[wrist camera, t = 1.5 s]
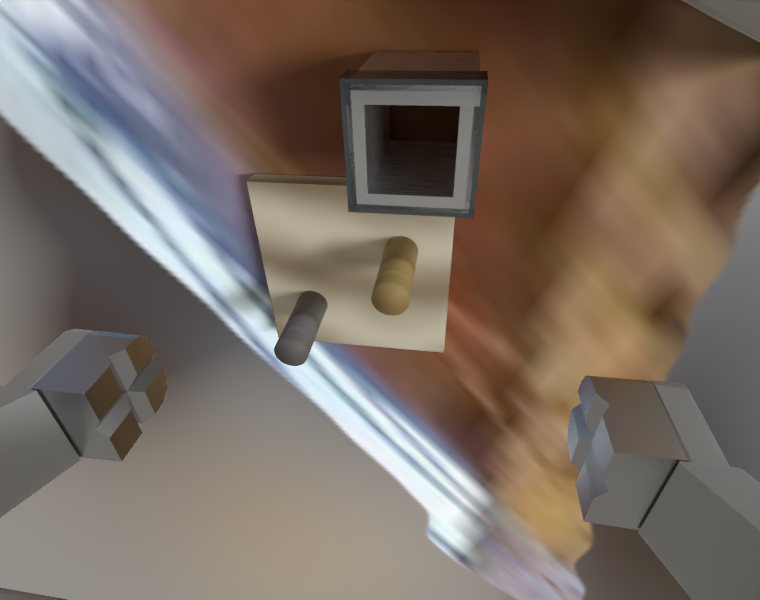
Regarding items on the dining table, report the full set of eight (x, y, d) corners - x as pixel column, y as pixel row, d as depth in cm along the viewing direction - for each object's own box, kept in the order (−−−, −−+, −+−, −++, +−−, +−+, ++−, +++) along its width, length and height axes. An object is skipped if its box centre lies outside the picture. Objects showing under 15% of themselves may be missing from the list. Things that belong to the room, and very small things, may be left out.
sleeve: (370, 47, 23) (339, 78, 17) (483, 46, 22) (487, 79, 16) (374, 155, 26) (348, 211, 20) (472, 159, 25) (473, 218, 20)
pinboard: (254, 173, 28) (207, 221, 23) (457, 181, 26) (454, 235, 21) (283, 327, 35) (253, 388, 30) (444, 340, 33) (440, 408, 28)
